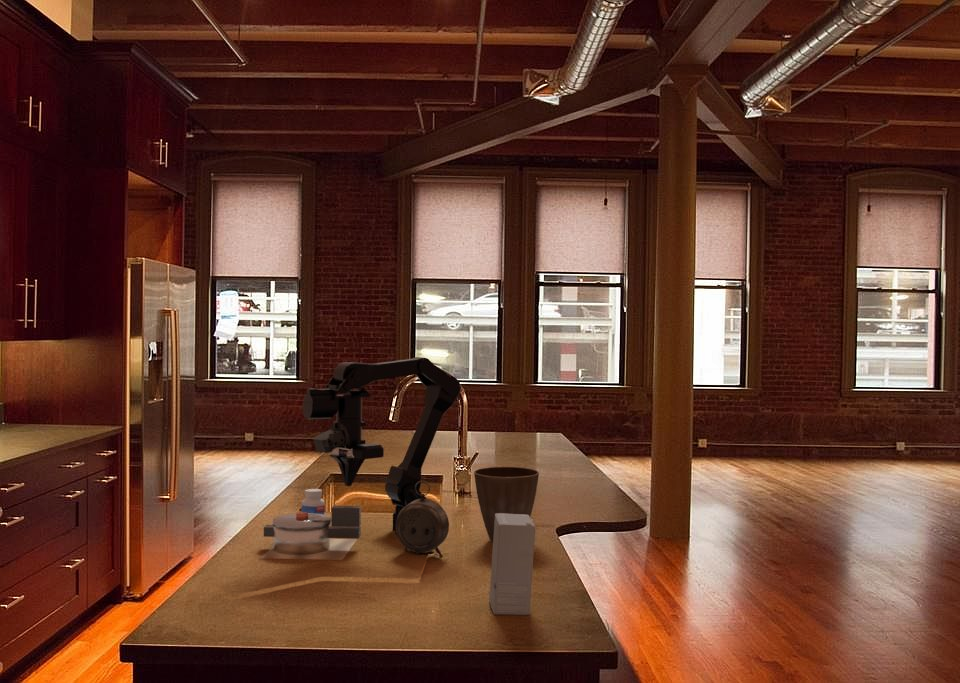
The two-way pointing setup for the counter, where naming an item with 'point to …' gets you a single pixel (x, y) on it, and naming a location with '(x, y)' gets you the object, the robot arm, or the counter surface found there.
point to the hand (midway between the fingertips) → (348, 485)
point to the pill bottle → (313, 502)
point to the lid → (320, 519)
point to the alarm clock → (422, 525)
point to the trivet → (334, 553)
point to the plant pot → (505, 492)
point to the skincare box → (512, 564)
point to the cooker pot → (307, 538)
